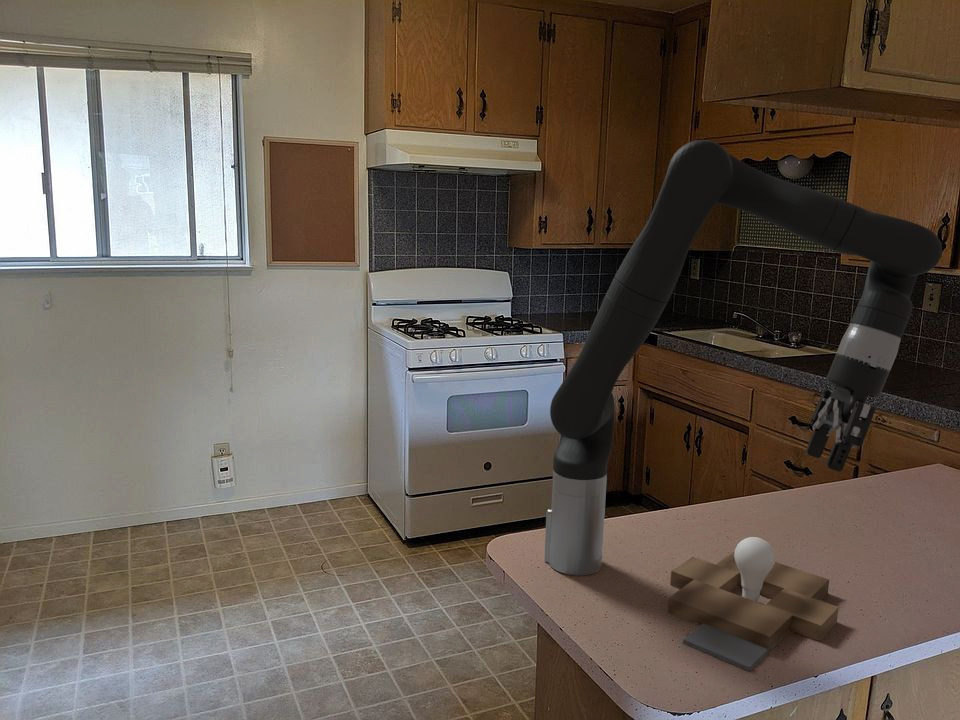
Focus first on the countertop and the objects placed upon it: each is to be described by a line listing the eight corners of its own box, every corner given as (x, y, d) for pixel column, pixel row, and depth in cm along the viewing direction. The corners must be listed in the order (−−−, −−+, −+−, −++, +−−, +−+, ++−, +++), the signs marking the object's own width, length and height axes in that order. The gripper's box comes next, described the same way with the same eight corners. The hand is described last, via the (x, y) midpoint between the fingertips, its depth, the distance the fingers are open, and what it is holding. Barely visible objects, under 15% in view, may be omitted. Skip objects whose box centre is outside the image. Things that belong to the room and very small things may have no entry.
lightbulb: (738, 589, 129) (744, 527, 127) (775, 601, 125) (782, 538, 123) (724, 603, 125) (730, 539, 122) (762, 616, 121) (769, 550, 119)
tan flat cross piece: (644, 602, 124) (645, 588, 124) (713, 555, 142) (714, 542, 141) (797, 664, 108) (799, 648, 108) (854, 602, 126) (856, 588, 125)
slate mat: (682, 642, 113) (683, 639, 113) (711, 619, 119) (711, 616, 119) (749, 671, 106) (749, 667, 106) (775, 645, 113) (775, 641, 113)
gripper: (821, 347, 121) (783, 444, 123) (858, 356, 107) (814, 465, 108) (868, 363, 120) (829, 460, 122) (911, 374, 106) (866, 483, 108)
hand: (822, 462), depth 115 cm, fingers open, 8 cm apart
